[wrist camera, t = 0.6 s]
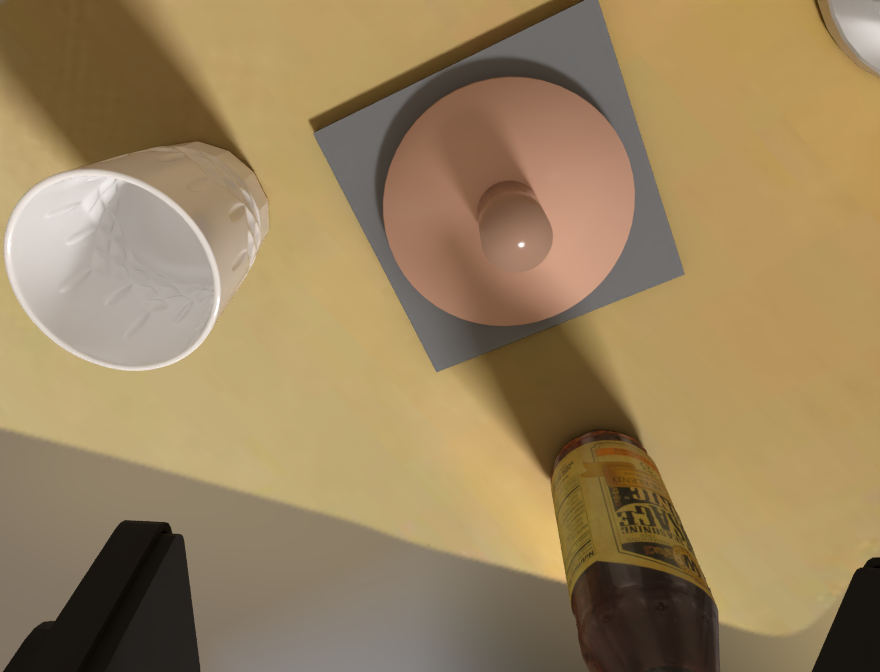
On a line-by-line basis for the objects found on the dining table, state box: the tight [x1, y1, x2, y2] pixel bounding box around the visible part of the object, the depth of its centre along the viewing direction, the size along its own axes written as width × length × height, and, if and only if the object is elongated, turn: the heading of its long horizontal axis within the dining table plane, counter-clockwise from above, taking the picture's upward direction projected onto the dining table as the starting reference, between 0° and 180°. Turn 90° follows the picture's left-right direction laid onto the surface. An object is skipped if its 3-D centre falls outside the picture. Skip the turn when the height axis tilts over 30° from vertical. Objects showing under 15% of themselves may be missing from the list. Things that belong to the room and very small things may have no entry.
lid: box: [383, 76, 635, 326], centre depth 30 cm, size 12×12×5 cm
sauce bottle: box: [551, 430, 720, 672], centre depth 31 cm, size 7×6×20 cm
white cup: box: [4, 141, 269, 371], centre depth 29 cm, size 8×8×10 cm
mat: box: [313, 0, 684, 372], centre depth 33 cm, size 14×14×1 cm
